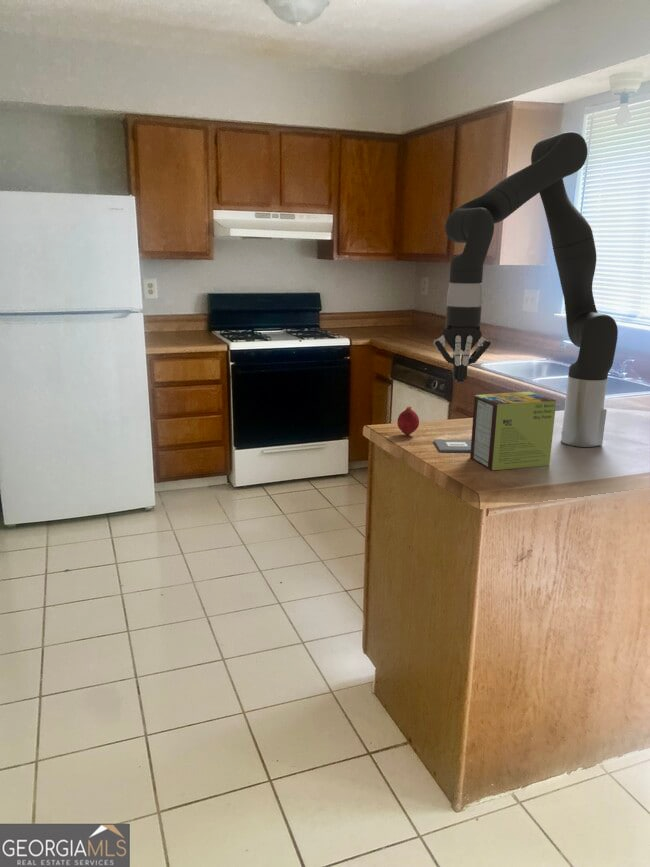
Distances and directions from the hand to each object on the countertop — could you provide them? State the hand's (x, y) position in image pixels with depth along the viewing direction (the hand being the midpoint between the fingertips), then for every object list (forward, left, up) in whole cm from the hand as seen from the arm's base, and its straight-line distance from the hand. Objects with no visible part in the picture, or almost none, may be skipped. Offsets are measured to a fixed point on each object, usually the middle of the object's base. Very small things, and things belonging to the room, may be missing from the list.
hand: (459, 381), depth 146 cm
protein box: (-13, 0, -19) cm, 23 cm away
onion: (+8, -22, -19) cm, 30 cm away
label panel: (-8, -12, -19) cm, 23 cm away
